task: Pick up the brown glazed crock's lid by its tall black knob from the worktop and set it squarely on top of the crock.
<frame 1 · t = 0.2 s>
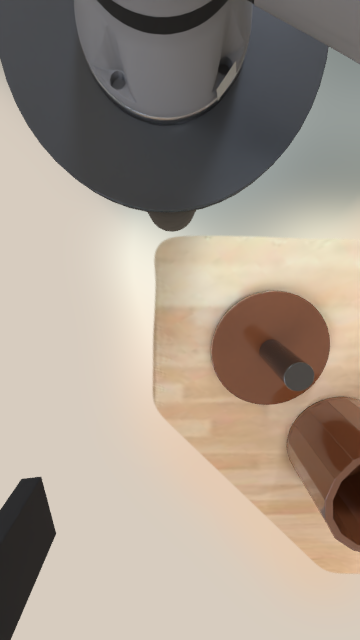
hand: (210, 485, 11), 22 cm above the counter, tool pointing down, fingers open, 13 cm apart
crock: (334, 440, 36), on the counter
crock lid: (269, 349, 33), point 1 cm above the counter
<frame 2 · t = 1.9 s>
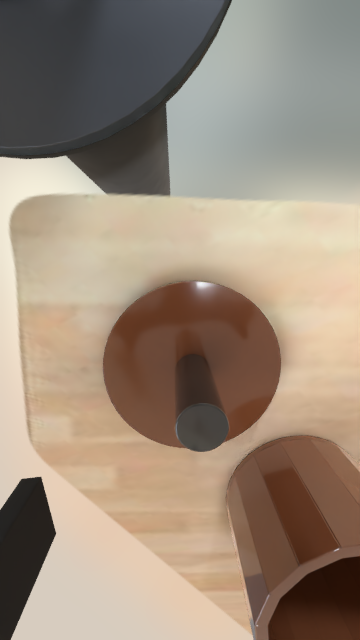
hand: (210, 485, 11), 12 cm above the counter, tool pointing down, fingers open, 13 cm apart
crock: (293, 495, 26), on the counter
crock lid: (192, 367, 22), point 1 cm above the counter
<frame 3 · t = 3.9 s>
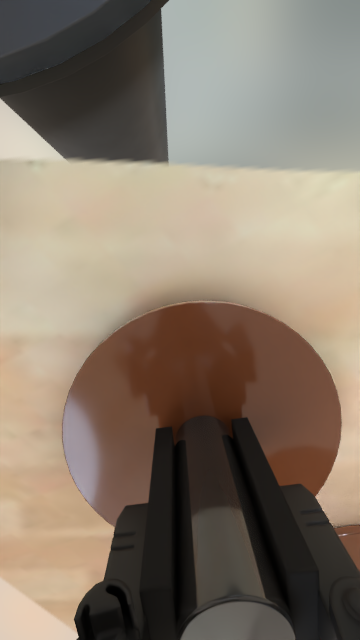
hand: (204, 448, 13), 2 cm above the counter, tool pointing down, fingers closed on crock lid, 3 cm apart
crock: (347, 605, 18), on the counter
crock lid: (201, 432, 14), point 1 cm above the counter, touching gripper
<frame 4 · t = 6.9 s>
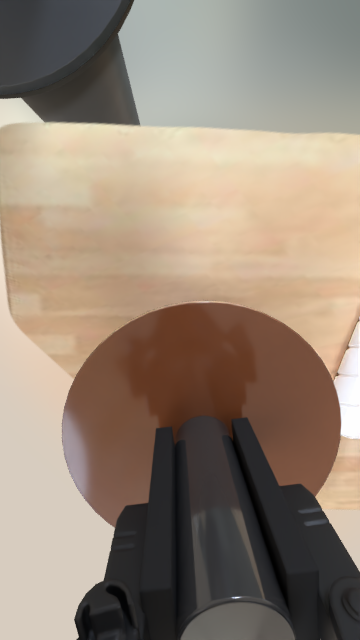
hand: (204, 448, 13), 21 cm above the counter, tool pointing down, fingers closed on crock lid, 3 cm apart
unicorn horn: (353, 340, 35), on the counter
crock lid: (201, 433, 14), point 20 cm above the counter, touching gripper
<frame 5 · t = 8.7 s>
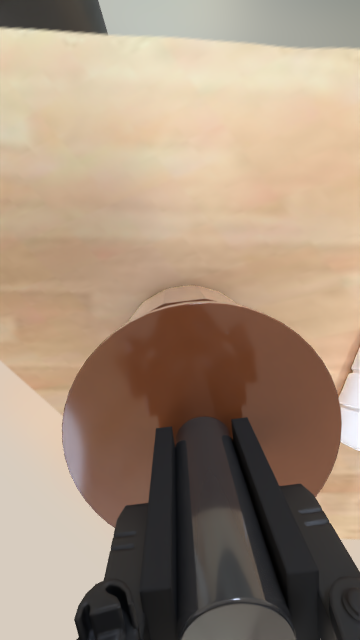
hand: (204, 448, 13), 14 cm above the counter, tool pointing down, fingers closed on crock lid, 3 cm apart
crock: (188, 350, 27), on the counter
crock lid: (202, 433, 14), point 13 cm above the counter, touching gripper
when the fingers open (11 cm above the counter, at t = 9.8 s): crock lid stays where it is, resting on crock.
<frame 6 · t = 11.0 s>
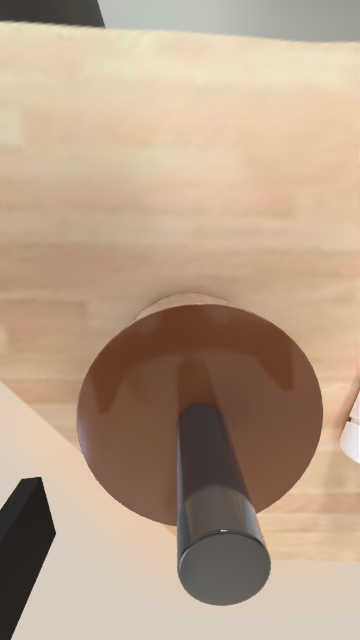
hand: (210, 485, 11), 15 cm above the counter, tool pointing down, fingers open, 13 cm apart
crock: (190, 361, 25), on the counter
crock lid: (199, 419, 16), point 9 cm above the counter, touching crock
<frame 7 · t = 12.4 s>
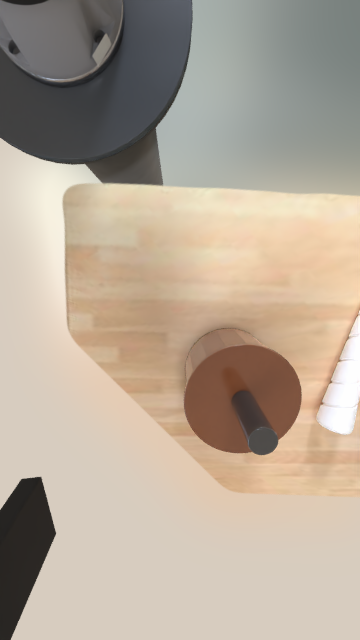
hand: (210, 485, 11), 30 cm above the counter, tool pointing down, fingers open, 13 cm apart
crock: (226, 368, 42), on the counter
unicorn horn: (344, 354, 43), on the counter
crock lid: (241, 398, 33), point 9 cm above the counter, touching crock
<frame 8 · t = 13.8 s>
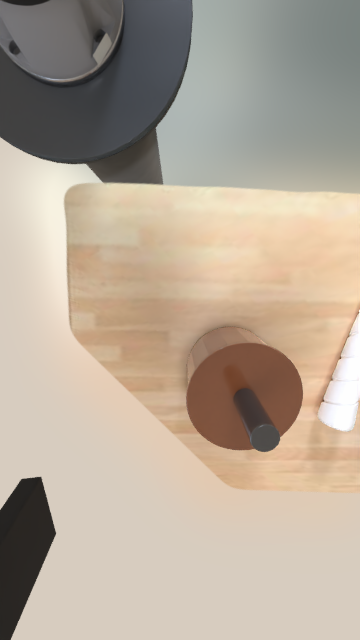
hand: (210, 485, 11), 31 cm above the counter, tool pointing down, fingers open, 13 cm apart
crock: (228, 366, 43), on the counter
unicorn horn: (344, 351, 43), on the counter
crock lid: (243, 396, 33), point 9 cm above the counter, touching crock
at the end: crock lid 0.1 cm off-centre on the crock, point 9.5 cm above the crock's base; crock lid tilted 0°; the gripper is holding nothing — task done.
